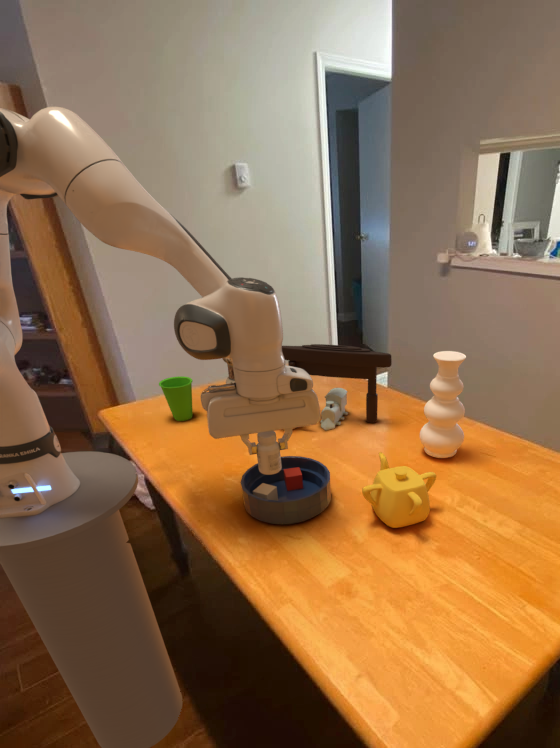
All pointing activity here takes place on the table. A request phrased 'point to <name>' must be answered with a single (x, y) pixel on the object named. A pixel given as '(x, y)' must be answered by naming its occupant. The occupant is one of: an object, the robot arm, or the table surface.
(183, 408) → the cup
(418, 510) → the teapot
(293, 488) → the red block
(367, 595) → the table surface
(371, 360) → the stool
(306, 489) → the bowl
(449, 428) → the vase
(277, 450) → the pill bottle
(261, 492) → the cream block
